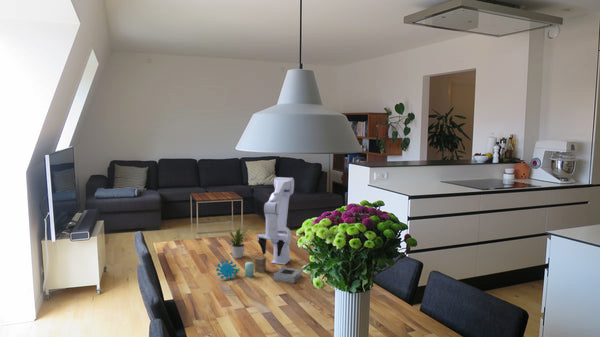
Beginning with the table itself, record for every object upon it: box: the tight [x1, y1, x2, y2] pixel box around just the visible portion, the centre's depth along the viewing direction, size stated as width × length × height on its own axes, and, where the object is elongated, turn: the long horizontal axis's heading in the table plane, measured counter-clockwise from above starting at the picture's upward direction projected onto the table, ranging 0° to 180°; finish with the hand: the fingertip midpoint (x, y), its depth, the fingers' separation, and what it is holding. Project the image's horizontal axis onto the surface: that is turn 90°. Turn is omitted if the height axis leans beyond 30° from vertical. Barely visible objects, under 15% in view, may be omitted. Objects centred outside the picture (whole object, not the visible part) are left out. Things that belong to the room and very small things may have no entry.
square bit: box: [254, 255, 267, 274], centre depth 212 cm, size 4×4×6 cm
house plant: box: [227, 227, 251, 259], centre depth 232 cm, size 14×14×16 cm
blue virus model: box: [215, 259, 241, 281], centre depth 204 cm, size 11×6×10 cm
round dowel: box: [244, 261, 255, 278], centre depth 206 cm, size 4×4×6 cm
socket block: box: [273, 266, 303, 284], centre depth 204 cm, size 10×10×3 cm
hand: (271, 254), depth 208 cm, fingers open, 7 cm apart
